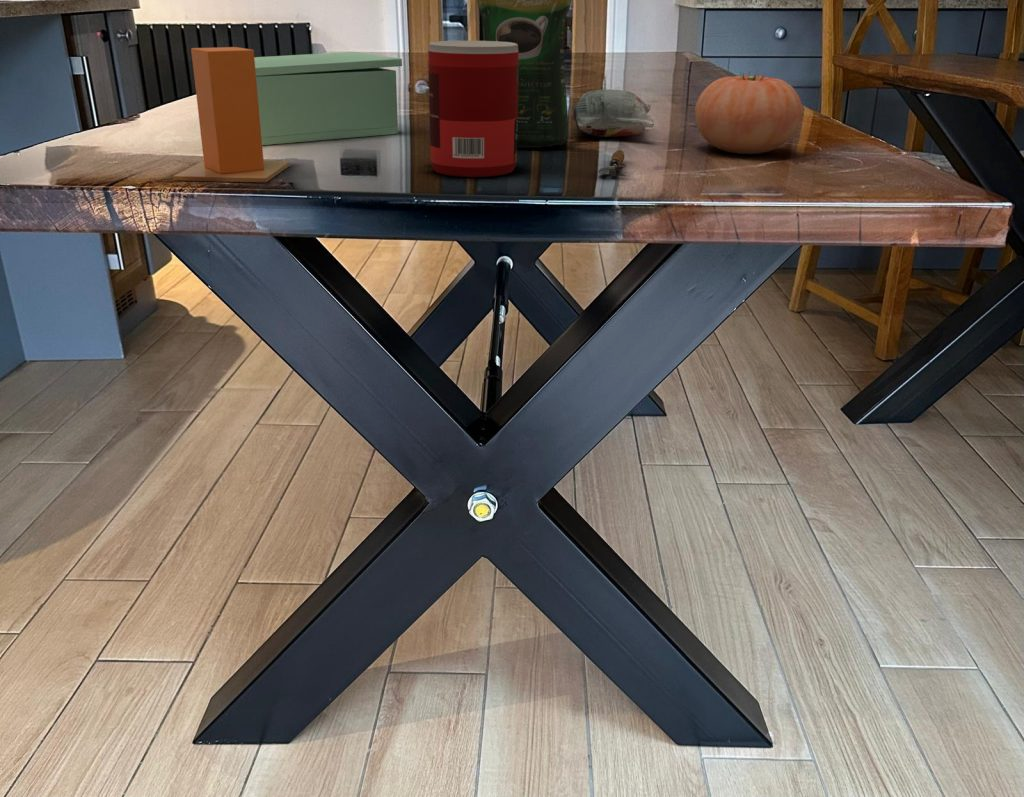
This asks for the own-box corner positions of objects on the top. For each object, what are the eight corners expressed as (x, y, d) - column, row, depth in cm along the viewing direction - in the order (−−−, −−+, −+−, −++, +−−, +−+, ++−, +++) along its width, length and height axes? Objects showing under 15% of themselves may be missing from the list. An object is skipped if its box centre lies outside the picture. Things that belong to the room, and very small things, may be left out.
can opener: (613, 160, 93) (614, 148, 92) (637, 162, 92) (638, 150, 92) (594, 177, 85) (595, 164, 84) (620, 179, 84) (621, 166, 84)
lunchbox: (350, 121, 116) (347, 62, 114) (398, 133, 108) (396, 70, 105) (218, 131, 107) (211, 67, 105) (258, 145, 99) (252, 76, 96)
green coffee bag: (570, 140, 105) (577, -46, 98) (564, 151, 98) (571, -48, 91) (483, 137, 106) (483, -47, 99) (471, 148, 99) (471, -49, 92)
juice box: (220, 174, 82) (207, 51, 78) (204, 166, 85) (190, 48, 81) (264, 169, 84) (253, 49, 80) (247, 162, 87) (236, 46, 83)
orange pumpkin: (819, 156, 98) (831, 74, 95) (739, 163, 93) (748, 78, 90) (747, 141, 107) (756, 65, 103) (670, 147, 102) (676, 68, 98)
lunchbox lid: (353, 58, 114) (353, 51, 114) (402, 66, 105) (402, 58, 105) (211, 67, 105) (210, 59, 104) (252, 76, 96) (251, 67, 96)
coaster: (173, 180, 81) (173, 175, 81) (204, 164, 89) (204, 159, 89) (266, 182, 81) (266, 177, 81) (289, 166, 89) (289, 161, 88)
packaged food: (649, 128, 114) (651, 85, 112) (652, 144, 103) (654, 96, 101) (576, 127, 115) (577, 84, 113) (571, 142, 104) (573, 95, 102)
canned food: (533, 172, 87) (536, 44, 83) (461, 181, 83) (460, 46, 78) (484, 160, 93) (484, 39, 89) (414, 167, 88) (411, 41, 84)
